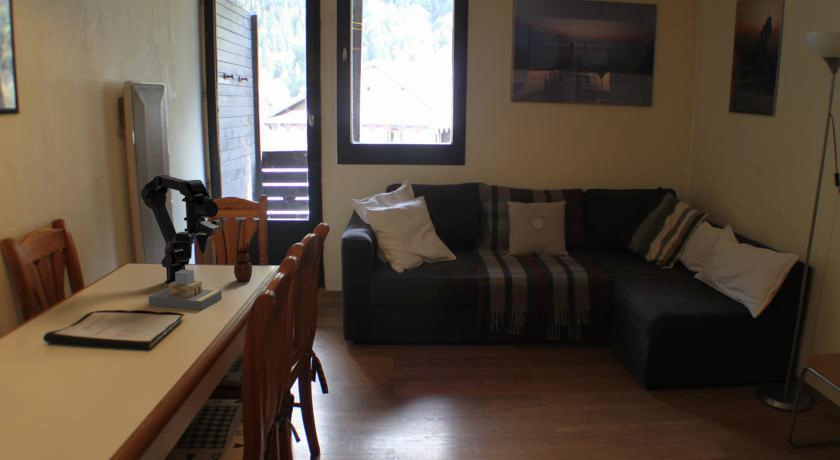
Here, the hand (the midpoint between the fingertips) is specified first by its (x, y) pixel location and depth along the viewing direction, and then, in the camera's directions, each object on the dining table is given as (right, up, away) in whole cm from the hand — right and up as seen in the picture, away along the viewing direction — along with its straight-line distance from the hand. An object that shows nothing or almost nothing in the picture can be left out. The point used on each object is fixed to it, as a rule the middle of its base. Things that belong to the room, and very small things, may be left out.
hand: (196, 255), depth 253 cm
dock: (+2, -15, -16) cm, 22 cm away
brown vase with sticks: (+14, -10, +12) cm, 21 cm away
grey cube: (+2, -9, -17) cm, 20 cm away
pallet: (+2, -12, -17) cm, 21 cm away
